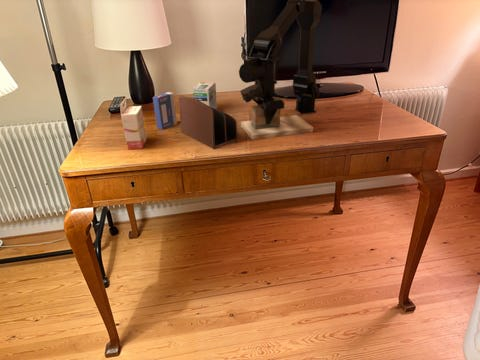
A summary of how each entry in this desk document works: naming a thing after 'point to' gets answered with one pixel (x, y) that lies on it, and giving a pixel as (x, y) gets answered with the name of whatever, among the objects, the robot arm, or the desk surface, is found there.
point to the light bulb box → (206, 93)
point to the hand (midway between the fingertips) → (265, 122)
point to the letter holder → (206, 123)
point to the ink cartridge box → (133, 125)
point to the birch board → (279, 128)
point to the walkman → (165, 110)
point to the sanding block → (263, 118)
